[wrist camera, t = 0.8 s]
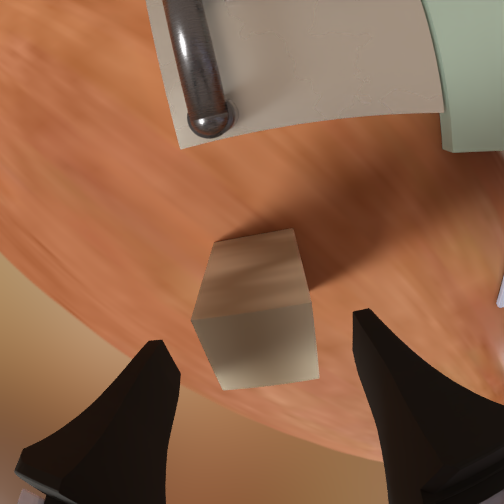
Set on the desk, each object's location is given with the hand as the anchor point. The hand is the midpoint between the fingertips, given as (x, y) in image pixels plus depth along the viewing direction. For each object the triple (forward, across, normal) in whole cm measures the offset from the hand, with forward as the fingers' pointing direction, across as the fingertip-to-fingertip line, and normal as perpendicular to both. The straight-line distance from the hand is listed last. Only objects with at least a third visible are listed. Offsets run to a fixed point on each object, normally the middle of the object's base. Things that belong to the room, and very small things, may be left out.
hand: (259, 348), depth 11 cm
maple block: (+6, 0, 0) cm, 6 cm away
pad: (+6, -14, -12) cm, 19 cm away
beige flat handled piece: (+6, -4, -11) cm, 13 cm away
